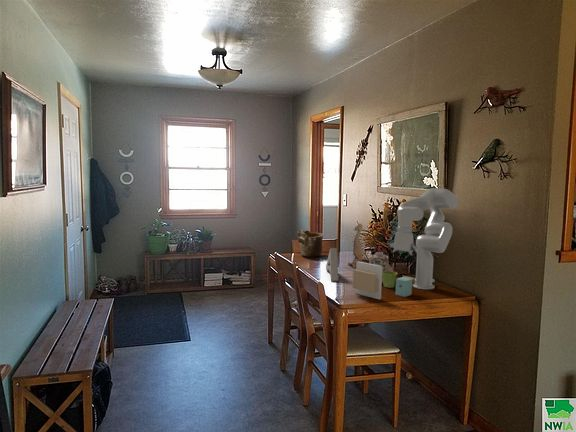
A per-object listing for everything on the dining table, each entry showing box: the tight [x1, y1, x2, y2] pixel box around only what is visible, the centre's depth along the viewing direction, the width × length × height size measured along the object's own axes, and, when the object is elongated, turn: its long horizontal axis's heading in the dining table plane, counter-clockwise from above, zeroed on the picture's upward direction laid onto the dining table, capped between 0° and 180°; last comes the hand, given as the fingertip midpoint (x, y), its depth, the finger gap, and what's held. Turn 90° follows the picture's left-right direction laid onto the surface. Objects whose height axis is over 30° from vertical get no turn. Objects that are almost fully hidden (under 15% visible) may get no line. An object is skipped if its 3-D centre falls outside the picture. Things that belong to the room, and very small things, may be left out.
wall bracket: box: [325, 247, 339, 283], centre depth 290 cm, size 22×4×30 cm
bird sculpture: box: [347, 223, 363, 269], centre depth 317 cm, size 11×12×32 cm
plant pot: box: [382, 270, 398, 289], centre depth 263 cm, size 9×9×9 cm
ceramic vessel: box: [296, 229, 324, 258], centre depth 354 cm, size 23×24×25 cm
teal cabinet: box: [395, 275, 416, 298], centre depth 247 cm, size 11×6×9 cm, turn 134°
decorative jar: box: [368, 251, 390, 284], centre depth 277 cm, size 12×12×18 cm
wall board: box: [352, 261, 383, 300], centre depth 240 cm, size 5×16×18 cm, turn 44°
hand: (403, 260), depth 243 cm, fingers open, 9 cm apart
